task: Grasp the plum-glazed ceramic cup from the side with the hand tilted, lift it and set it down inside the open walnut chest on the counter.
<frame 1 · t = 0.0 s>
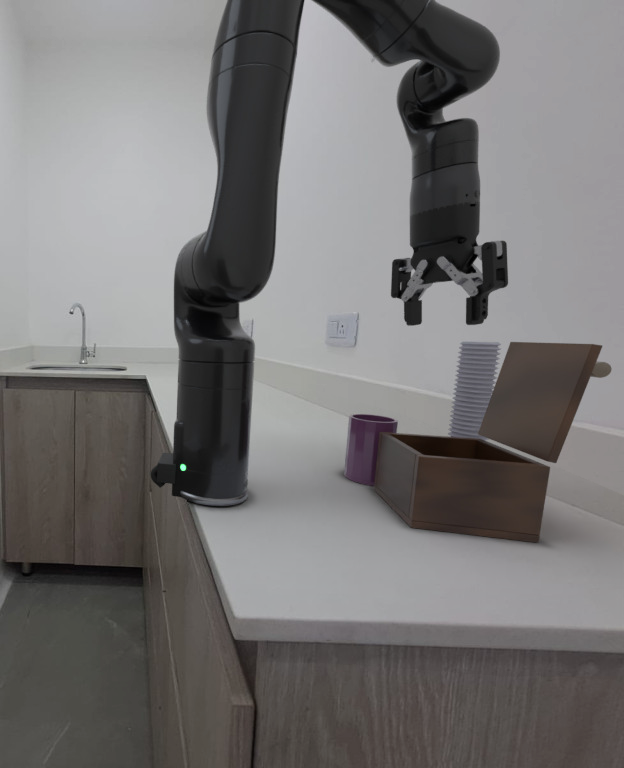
hand: (442, 324, 58), 22 cm above the worktop, tool pointing down, fingers open, 8 cm apart
screw: (461, 486, 56), on the worktop
cup: (367, 478, 58), on the worktop
chest: (444, 512, 47), on the worktop
lid: (550, 400, 43), point 14 cm above the worktop, hinge at 100.0°
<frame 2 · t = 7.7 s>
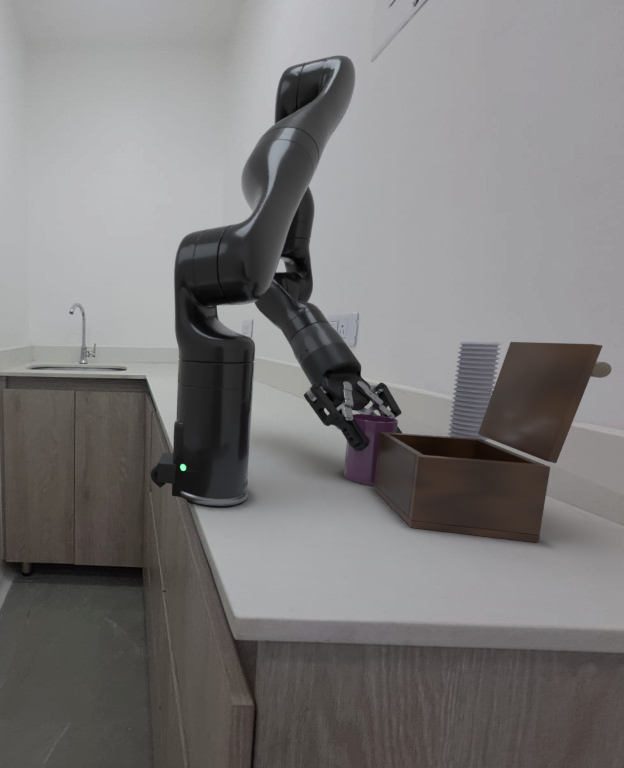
hand: (381, 446, 56), 5 cm above the worktop, tool tilted 45°, fingers closed on cup, 6 cm apart
cup: (367, 478, 58), on the worktop, touching gripper
everything else where it was.
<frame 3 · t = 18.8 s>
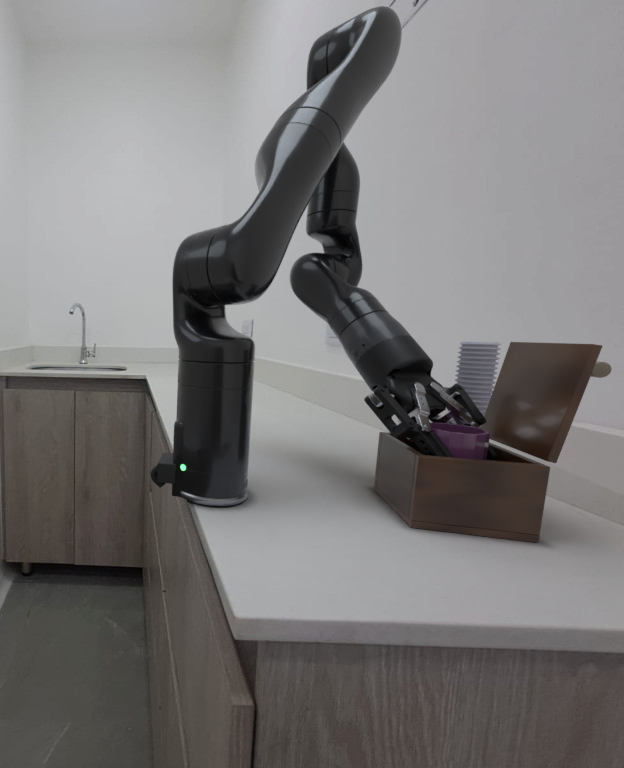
hand: (467, 463, 45), 6 cm above the worktop, tool tilted 45°, fingers closed on cup, 6 cm apart
cup: (446, 502, 47), point 1 cm above the worktop, touching gripper
everything else where it was.
when the fingers open (7 cm above the worktop, at t = 21.8 s): cup drops 1 cm, resting on chest.
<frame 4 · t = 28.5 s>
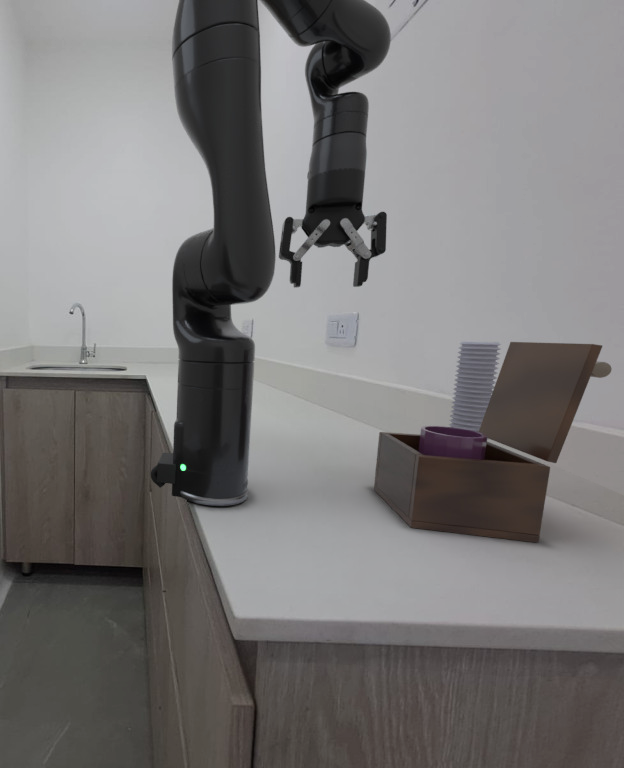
hand: (326, 286, 62), 28 cm above the worktop, tool pointing down, fingers open, 8 cm apart
cup: (443, 505, 47), point 1 cm above the worktop, touching chest
everything else where it was.
at the end: cup 0.2 cm off-centre in the chest, point 0.8 cm above the chest's base; cup tilted 0°; lid at +100° (first picture: +100°) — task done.
